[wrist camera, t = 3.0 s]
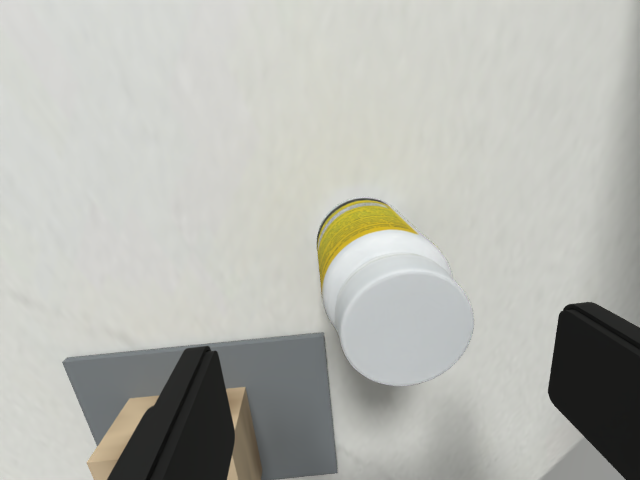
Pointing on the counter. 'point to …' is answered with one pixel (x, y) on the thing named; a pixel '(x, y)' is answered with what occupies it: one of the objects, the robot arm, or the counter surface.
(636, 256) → the counter surface
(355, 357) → the supplement bottle
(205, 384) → the robot arm
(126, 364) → the mat
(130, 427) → the oak block
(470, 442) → the counter surface
